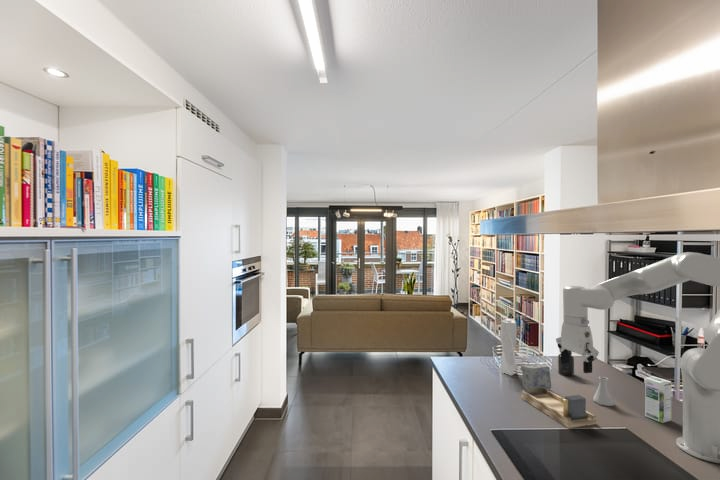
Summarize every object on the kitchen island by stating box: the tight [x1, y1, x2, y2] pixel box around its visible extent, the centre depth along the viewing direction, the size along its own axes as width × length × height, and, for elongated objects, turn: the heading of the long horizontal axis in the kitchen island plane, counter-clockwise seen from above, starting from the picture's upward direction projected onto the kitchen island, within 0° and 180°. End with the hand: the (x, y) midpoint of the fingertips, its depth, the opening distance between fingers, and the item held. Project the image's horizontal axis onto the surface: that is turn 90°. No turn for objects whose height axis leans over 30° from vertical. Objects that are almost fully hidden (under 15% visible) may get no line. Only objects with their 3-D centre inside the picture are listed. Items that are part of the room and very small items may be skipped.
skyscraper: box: [500, 315, 518, 376], centre depth 173 cm, size 8×8×28 cm
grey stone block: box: [520, 362, 552, 390], centre depth 155 cm, size 10×8×10 cm
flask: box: [592, 376, 615, 407], centre depth 141 cm, size 7×7×10 cm
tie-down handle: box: [564, 394, 588, 420], centre depth 126 cm, size 3×8×7 cm, turn 104°
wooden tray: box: [520, 385, 597, 429], centre depth 135 cm, size 24×12×9 cm, turn 14°
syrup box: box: [644, 375, 672, 424], centre depth 129 cm, size 6×6×14 cm
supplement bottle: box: [557, 351, 575, 377], centre depth 172 cm, size 7×7×12 cm
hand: (576, 367), depth 126 cm, fingers open, 9 cm apart
